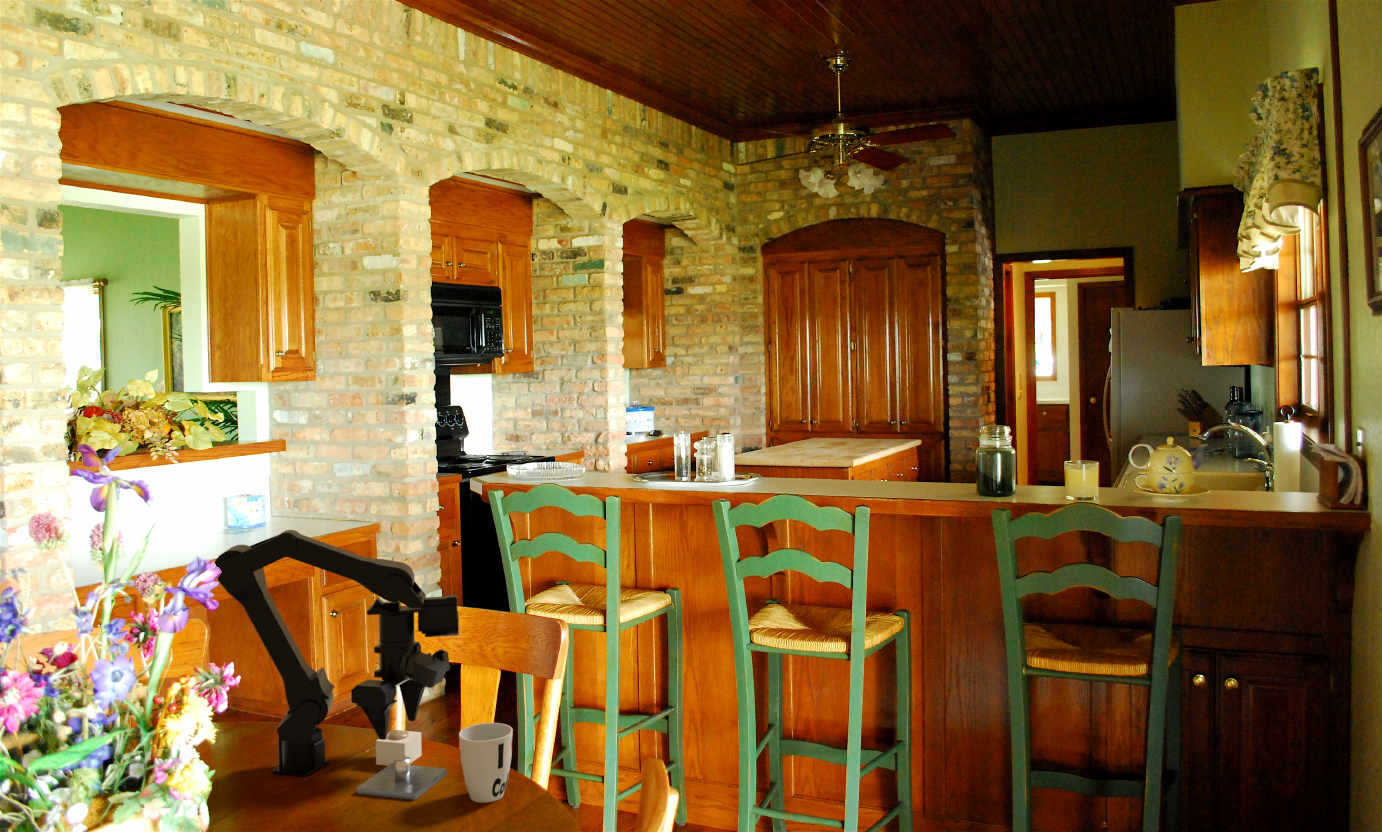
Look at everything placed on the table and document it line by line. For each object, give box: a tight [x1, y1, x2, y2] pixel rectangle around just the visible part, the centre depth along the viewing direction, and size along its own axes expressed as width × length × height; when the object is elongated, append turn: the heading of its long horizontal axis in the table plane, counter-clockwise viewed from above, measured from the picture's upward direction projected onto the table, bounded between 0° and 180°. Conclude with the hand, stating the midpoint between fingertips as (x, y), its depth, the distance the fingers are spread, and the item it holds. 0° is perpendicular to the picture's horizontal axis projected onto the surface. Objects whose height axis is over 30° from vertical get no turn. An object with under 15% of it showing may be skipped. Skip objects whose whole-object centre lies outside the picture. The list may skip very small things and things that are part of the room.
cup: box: [458, 722, 514, 804], centre depth 151 cm, size 8×8×10 cm
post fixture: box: [356, 756, 448, 801], centre depth 156 cm, size 10×10×4 cm
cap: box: [375, 729, 423, 767], centre depth 166 cm, size 5×5×4 cm
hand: (397, 729), depth 166 cm, fingers open, 9 cm apart
